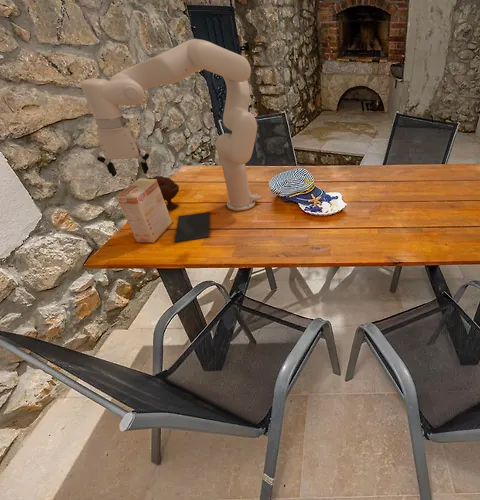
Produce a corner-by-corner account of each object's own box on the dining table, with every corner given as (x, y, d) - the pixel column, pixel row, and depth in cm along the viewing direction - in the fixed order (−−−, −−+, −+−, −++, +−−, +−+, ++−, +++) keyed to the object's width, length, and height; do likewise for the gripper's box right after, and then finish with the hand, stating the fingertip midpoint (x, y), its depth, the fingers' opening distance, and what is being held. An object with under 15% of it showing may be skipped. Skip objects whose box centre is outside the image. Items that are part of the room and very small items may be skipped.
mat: (209, 212, 139) (208, 212, 139) (208, 237, 124) (208, 236, 124) (179, 216, 136) (178, 216, 136) (174, 242, 121) (174, 241, 120)
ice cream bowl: (174, 214, 137) (163, 182, 128) (152, 211, 139) (139, 179, 130) (189, 203, 146) (180, 172, 137) (167, 200, 147) (157, 169, 138)
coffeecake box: (156, 221, 132) (139, 178, 121) (173, 222, 132) (157, 178, 120) (135, 242, 120) (114, 195, 108) (154, 243, 120) (134, 196, 108)
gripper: (143, 118, 107) (159, 167, 117) (82, 121, 102) (104, 172, 112) (139, 124, 101) (156, 175, 111) (74, 127, 96) (98, 180, 106)
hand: (130, 173), depth 111 cm, fingers open, 9 cm apart
